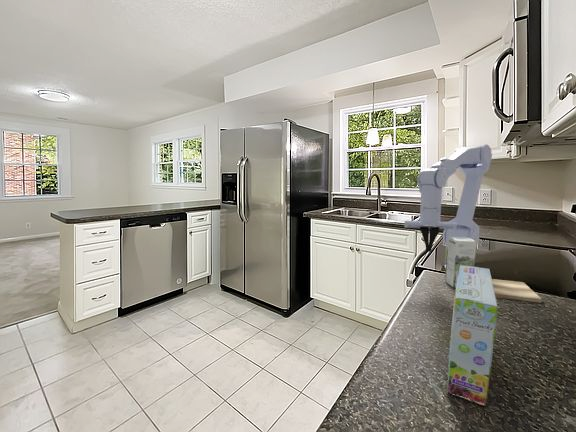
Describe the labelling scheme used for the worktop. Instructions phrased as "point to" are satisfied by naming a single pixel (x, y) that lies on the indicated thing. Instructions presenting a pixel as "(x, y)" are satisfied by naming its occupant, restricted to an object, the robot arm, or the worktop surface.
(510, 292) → the cutting board
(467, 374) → the snack box
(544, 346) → the worktop surface
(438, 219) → the robot arm
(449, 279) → the syrup box
